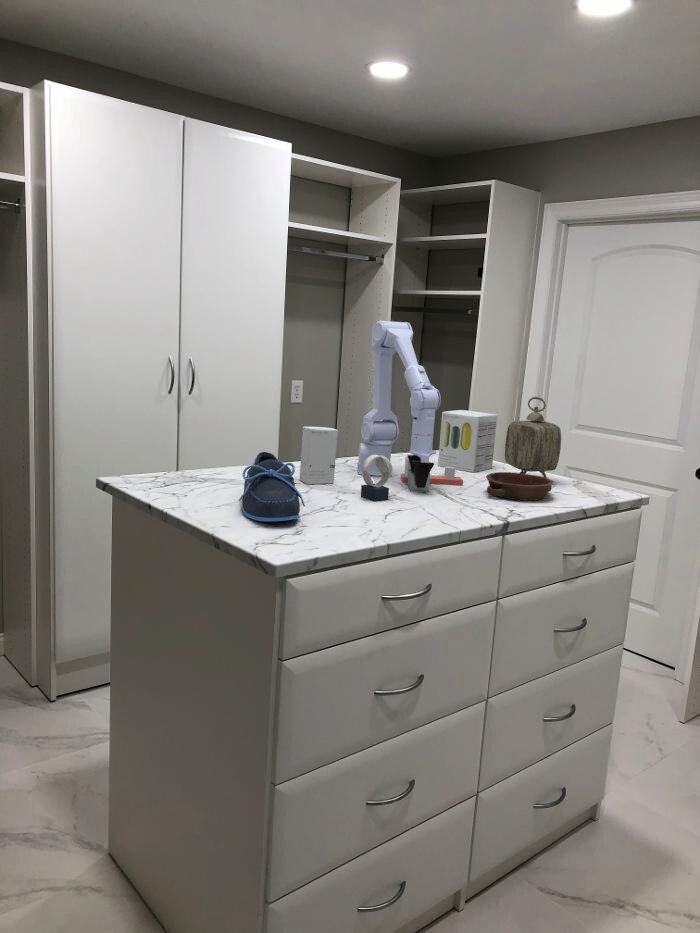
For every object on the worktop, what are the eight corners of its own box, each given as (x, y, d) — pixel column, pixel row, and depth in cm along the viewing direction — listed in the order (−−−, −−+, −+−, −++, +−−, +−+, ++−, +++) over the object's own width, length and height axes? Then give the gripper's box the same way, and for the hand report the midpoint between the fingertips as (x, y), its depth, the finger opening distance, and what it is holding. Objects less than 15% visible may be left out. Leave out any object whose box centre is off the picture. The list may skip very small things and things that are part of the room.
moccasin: (246, 530, 155) (248, 473, 153) (221, 492, 187) (223, 445, 185) (312, 528, 159) (315, 473, 157) (277, 491, 192) (279, 445, 189)
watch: (393, 499, 190) (397, 456, 188) (369, 502, 185) (372, 458, 183) (378, 494, 195) (381, 452, 193) (354, 497, 189) (357, 454, 187)
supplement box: (436, 466, 241) (440, 411, 238) (456, 462, 252) (461, 409, 248) (473, 473, 233) (478, 416, 230) (493, 468, 244) (498, 414, 241)
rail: (402, 482, 212) (404, 459, 211) (400, 479, 217) (402, 456, 216) (462, 485, 213) (464, 462, 212) (459, 481, 218) (461, 459, 217)
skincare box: (306, 484, 201) (309, 429, 198) (298, 479, 207) (301, 425, 204) (335, 483, 205) (338, 429, 202) (327, 479, 210) (330, 425, 207)
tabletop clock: (556, 485, 222) (566, 400, 218) (533, 487, 218) (543, 399, 213) (521, 475, 234) (530, 394, 230) (499, 476, 230) (507, 394, 225)
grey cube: (410, 491, 201) (411, 472, 200) (407, 487, 206) (408, 469, 205) (428, 492, 201) (430, 473, 201) (425, 488, 206) (427, 470, 205)
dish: (465, 492, 206) (466, 473, 205) (523, 486, 218) (524, 469, 217) (511, 506, 192) (513, 487, 191) (570, 500, 204) (572, 482, 203)
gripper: (442, 439, 194) (438, 491, 197) (432, 431, 208) (428, 479, 211) (415, 437, 194) (411, 489, 196) (407, 429, 208) (403, 478, 210)
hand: (418, 484), depth 203 cm, fingers open, 7 cm apart
